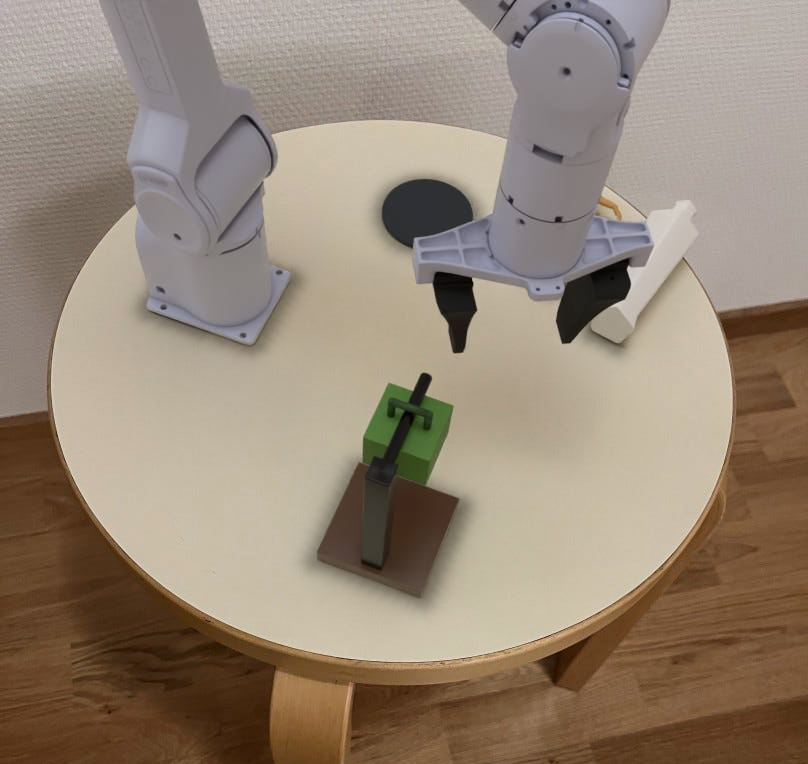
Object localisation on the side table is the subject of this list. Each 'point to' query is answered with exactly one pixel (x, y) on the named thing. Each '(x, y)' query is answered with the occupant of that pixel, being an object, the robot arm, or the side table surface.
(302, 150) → the side table surface
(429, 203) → the mat
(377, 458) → the hook stand
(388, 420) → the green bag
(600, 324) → the perfume bottle
